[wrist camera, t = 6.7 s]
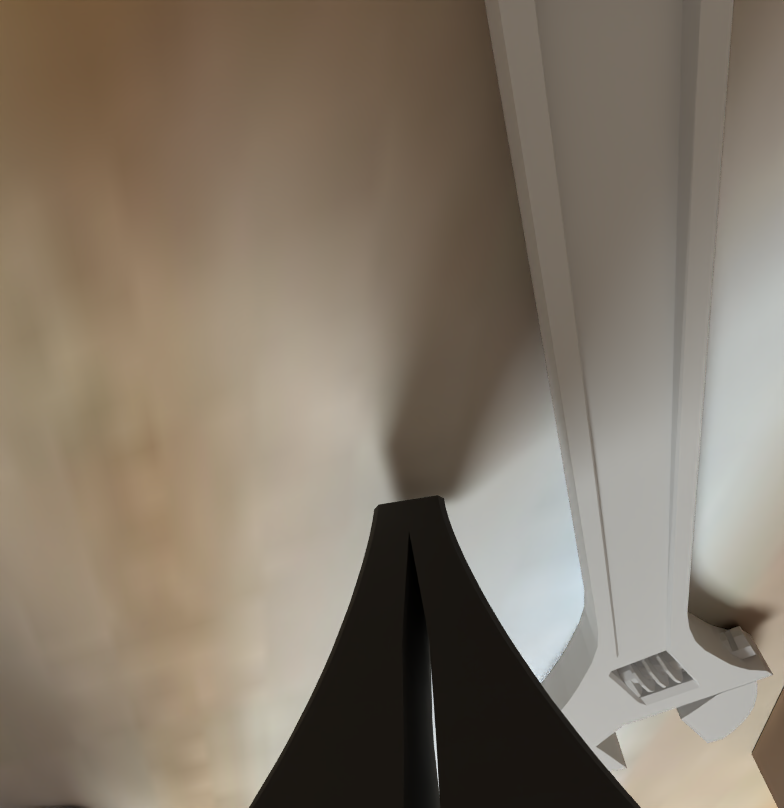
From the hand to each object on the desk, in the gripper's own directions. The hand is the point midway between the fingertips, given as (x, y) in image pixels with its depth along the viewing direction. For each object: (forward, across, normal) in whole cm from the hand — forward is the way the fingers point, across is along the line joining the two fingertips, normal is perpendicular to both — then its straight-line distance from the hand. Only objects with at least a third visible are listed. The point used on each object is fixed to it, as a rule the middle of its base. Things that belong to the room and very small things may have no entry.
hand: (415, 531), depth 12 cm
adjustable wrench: (+2, -5, +1) cm, 5 cm away
